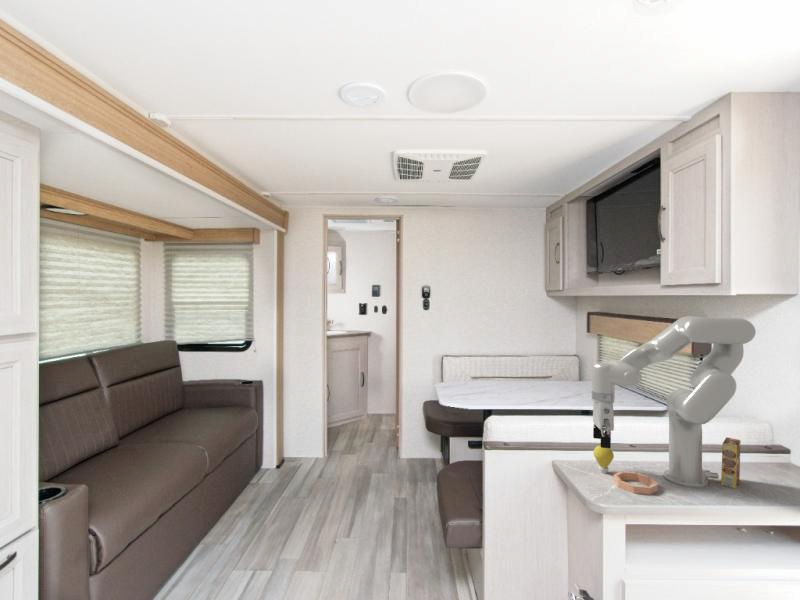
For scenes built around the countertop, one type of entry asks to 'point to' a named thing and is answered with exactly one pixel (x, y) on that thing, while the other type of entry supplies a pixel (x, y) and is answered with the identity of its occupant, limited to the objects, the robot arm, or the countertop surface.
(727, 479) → the candy box
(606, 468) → the light bulb
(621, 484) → the terracotta ring
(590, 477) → the countertop surface
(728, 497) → the countertop surface
